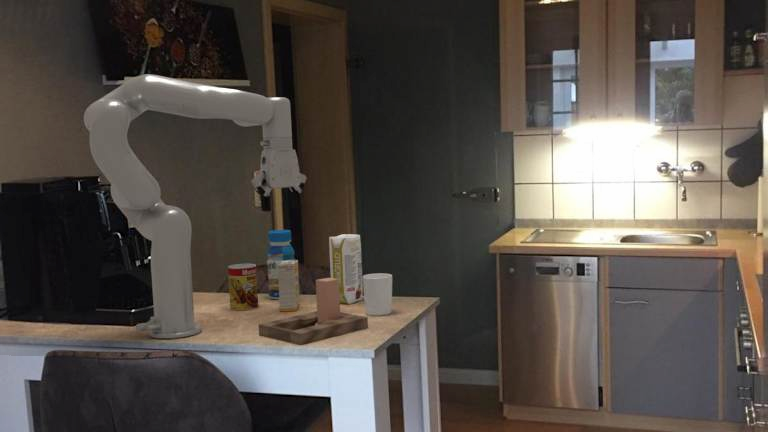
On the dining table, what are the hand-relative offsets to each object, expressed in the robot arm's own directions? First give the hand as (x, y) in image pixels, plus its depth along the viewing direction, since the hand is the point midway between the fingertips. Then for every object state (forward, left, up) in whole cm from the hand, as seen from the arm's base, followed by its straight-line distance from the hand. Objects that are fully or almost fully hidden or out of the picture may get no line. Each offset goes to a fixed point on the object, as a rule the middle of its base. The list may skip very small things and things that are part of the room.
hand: (281, 209), depth 217 cm
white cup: (+16, -19, -28) cm, 38 cm away
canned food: (-1, +18, -28) cm, 34 cm away
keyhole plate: (-8, -21, -28) cm, 36 cm away
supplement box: (+6, +6, -28) cm, 30 cm away
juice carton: (+22, 0, -28) cm, 36 cm away
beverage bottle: (+15, +21, -28) cm, 38 cm away
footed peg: (-3, -21, -28) cm, 35 cm away
